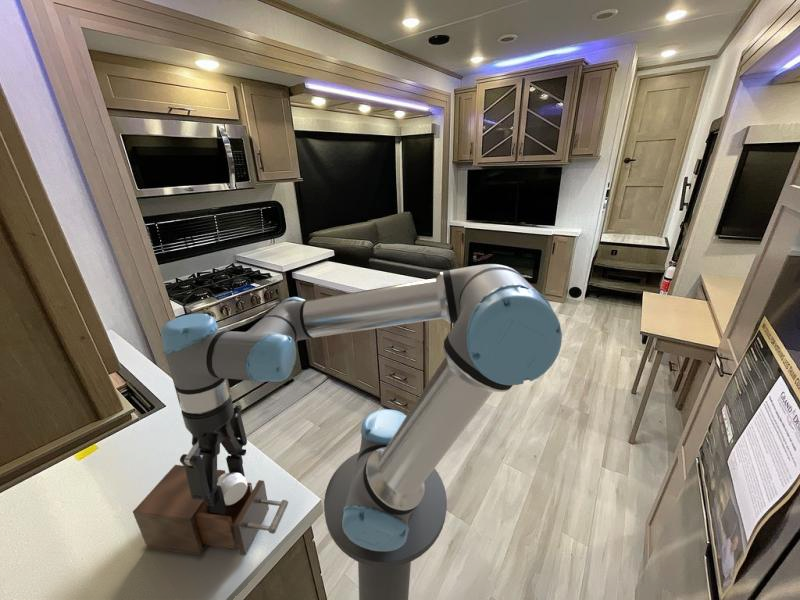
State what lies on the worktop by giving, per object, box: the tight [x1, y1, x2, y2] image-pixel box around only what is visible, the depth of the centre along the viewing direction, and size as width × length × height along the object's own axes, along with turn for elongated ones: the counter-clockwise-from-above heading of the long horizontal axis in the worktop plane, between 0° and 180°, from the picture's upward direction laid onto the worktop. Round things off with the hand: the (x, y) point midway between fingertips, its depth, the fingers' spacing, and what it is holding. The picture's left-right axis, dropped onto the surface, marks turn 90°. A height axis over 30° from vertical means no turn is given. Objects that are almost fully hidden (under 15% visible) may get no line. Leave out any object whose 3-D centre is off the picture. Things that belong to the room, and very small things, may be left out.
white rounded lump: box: [217, 472, 248, 505], centre depth 63 cm, size 6×6×5 cm
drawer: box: [194, 479, 289, 556], centre depth 65 cm, size 16×9×9 cm, turn 84°
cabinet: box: [132, 464, 226, 556], centre depth 66 cm, size 12×11×11 cm
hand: (229, 495), depth 63 cm, fingers closed on white rounded lump, 6 cm apart
